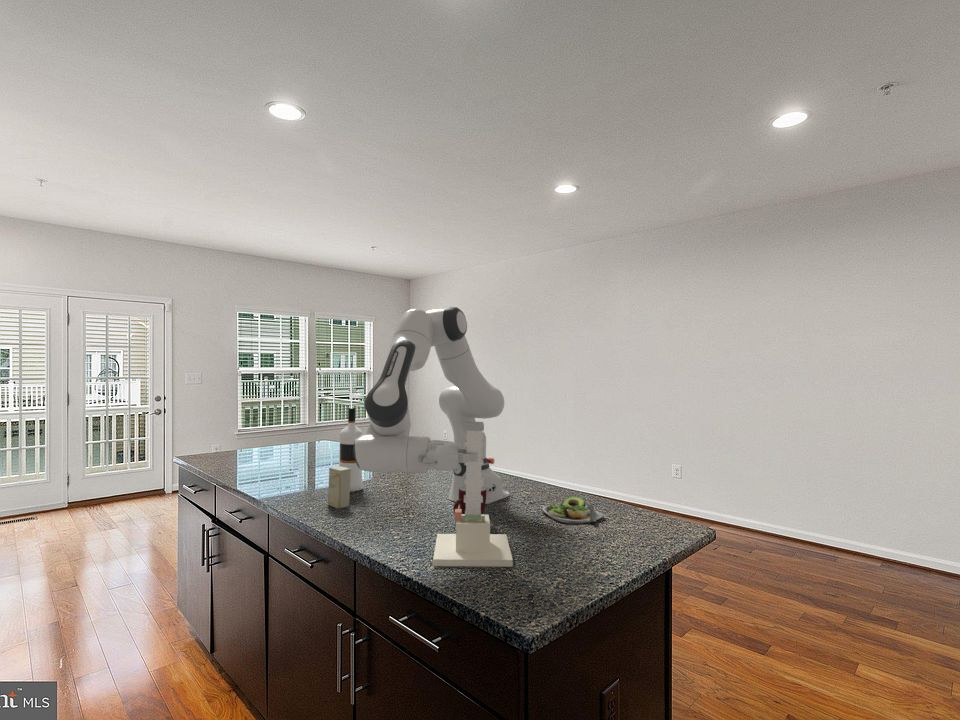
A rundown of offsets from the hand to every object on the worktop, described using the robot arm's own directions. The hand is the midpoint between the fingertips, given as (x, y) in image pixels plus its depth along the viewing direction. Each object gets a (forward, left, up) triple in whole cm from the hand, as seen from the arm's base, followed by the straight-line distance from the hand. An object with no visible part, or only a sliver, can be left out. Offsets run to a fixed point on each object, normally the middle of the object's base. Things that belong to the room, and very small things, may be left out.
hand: (477, 455), depth 124 cm
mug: (-14, -18, -24) cm, 33 cm away
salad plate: (-45, -3, -24) cm, 51 cm away
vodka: (-10, -77, -24) cm, 81 cm away
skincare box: (+4, -60, -24) cm, 64 cm away
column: (+1, -1, -15) cm, 16 cm away
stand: (+1, -1, -23) cm, 23 cm away
